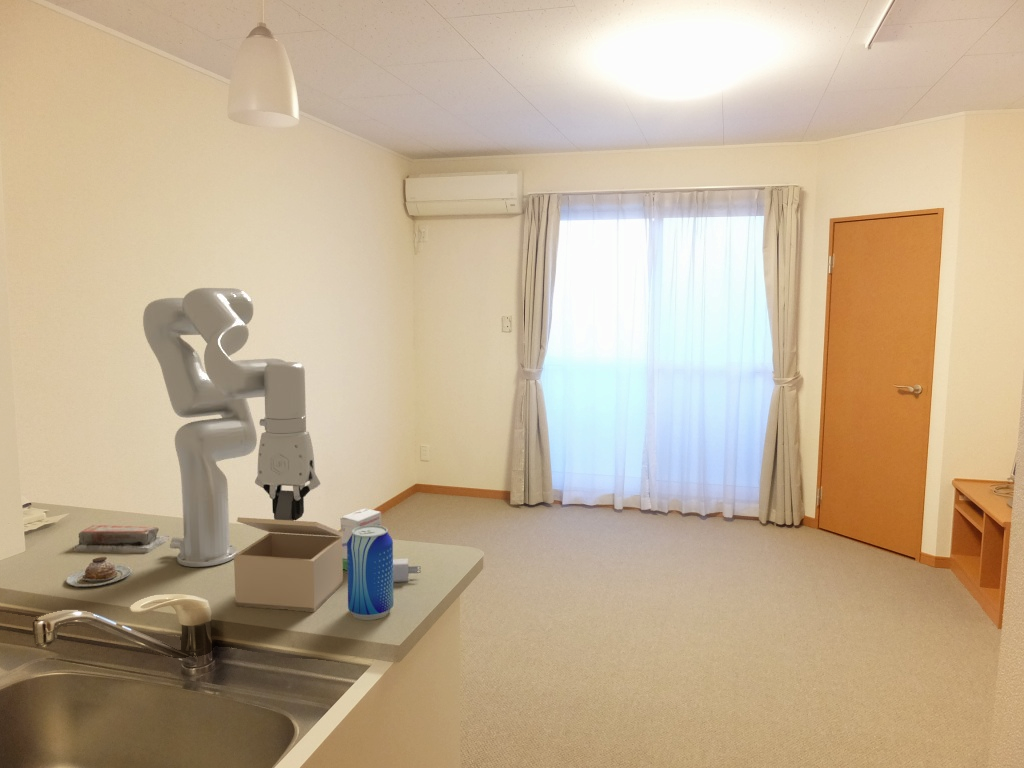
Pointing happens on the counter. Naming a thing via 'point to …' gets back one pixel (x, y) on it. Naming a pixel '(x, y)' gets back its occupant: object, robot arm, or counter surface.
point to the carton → (288, 572)
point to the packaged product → (119, 539)
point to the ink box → (353, 522)
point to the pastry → (98, 573)
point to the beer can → (370, 572)
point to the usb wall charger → (403, 570)
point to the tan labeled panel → (289, 520)
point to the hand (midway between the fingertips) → (288, 516)
